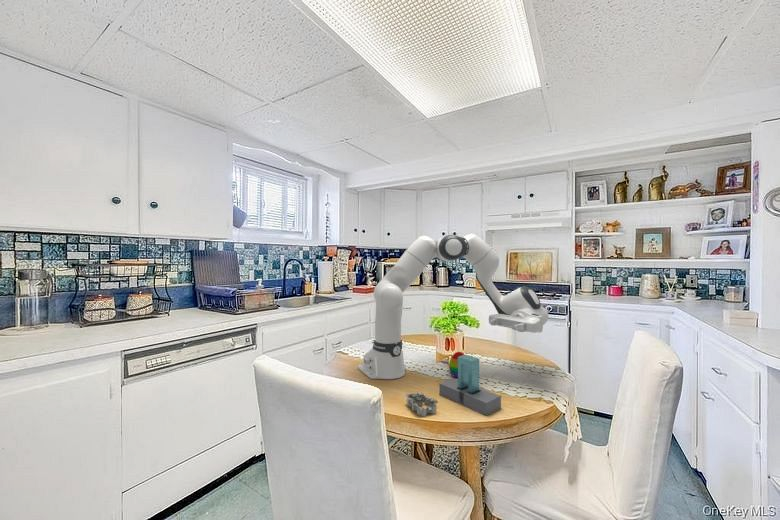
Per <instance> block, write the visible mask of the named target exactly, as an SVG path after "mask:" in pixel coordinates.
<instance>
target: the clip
mask: <svg viewBox="0 0 780 520" xmlns="http://www.w3.org/2000/svg"><path fill="white" fill-rule="evenodd" d="M457 379H458V389H460V390H464V389H466V388H468V393H469V394H472V395H473V394H475V393H478V392H479V388H480V358H479V357H474V356H471V355H468V354H464V355H462V356H459V357H458V378H457Z"/></svg>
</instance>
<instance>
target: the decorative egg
mask: <svg viewBox="0 0 780 520" xmlns="http://www.w3.org/2000/svg"><path fill="white" fill-rule="evenodd" d="M462 355H465V353H464V352H462V351H456V352H454V353H453V354H452V356H451V358H450V360H449V364H448V365H449V367H448V368H449V369H448V370H449V372H450V374H451V375H452V377H453V378H455V379H458V357H459V356H462Z"/></svg>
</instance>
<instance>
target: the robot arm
mask: <svg viewBox="0 0 780 520" xmlns="http://www.w3.org/2000/svg"><path fill="white" fill-rule="evenodd" d="M461 258H464V259H465V260H467V261H468V262H469V264H470V265H471V267H473V269H474V270H475V279H476V281H477V282H478V284H479V286H480V287H481V289H482V290H483V292H484V293H485V295H486V296H487V297H488V298H489V300H490V301H491V303H492V304H493V306H494V308H495V311H496V312H497V314H495V313H493V314H490V315H488V324H490V326H498V327H503V328H508V329H512V330H514V331H516V332H519V333H524V332H529V333H533V334H534V333H543V327H544V326H545V324H546V323H547V322H548V320H549V312H548V311H547V309H546V308H545V307H544V306H542V305H541V301H540V300H541V299H540V297H539V295H538V294H537V292H536V290H533V289H532V288H531V287H528V286H525V285H523V286H521V287H517V288H516V289H515V290H512V291H511V292H509V293H508V294H506V295H503V294H501V292H500V291H499V290H498V288H497V287H496V285H495V284H494V283H493V281H492V280H493V279H492V278H493V276H494V275H495V274H496V271H497V270H498V268H499V265H500V256H499V255H498V254H497V252H496V251H495V250H494V249H493V248H492V247H491V246H490V245H489V244H488V243H487V242H485V241H484V240H483V239H482V238H481V237H479V236H477V235H476V234H475V233H469V234H466V235H464V236H459V235H457V234H456V235H455V234H448V235H444V236H441V237H440V238H438V239H433V238H431V237H430V236H427V235H420V236H419V237H418V238H416V239H415V240H414V241H413V242H412V243H411V244H410V245H409V247H408V248H406V249H405V251H404V252H403V254H402V255H401V256H400V258H399V259H398V261H397V262H396V263H395V264H394V265H393V266H392V267H391V269H390V270H388V271H387V272H386V274H384V276H383V277H382V279H381V280H380V281H378V283H377V284H376V285H375V287H374V289H373V297H374V299H375V319H374V320H375V321H374V339H372V341H371V344H372V348H370V350H369V351H367V352H366V353H365V354H363V360H362V361H363V363H361V364H358V366H357V369H358V370H360V372H361V373H363V374H364V375H366V376H367V377H368V378H369V379H371V380H377V379H379V380H394V379H400V378H402V377H403V376H405V375H406V369H407V366H406V365H405V359H404V351H403V350H402V349H403V339H402V316H403V304H404V295H403V293H404V292H405V291H406V290H407V289H408V288H409V287H410V286H411V285H412V284H414V283H415V281H416V280H417V279H418V278H419V277H420V275H421V274H422V273H423V271H424V270H425V269H426V267H427V266H428V265H429V263H430V262H431V261H432V260H434V259H436V260H438V261H442V262H453V261H457V260H459V259H461Z"/></svg>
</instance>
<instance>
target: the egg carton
mask: <svg viewBox="0 0 780 520" xmlns="http://www.w3.org/2000/svg"><path fill="white" fill-rule="evenodd" d="M405 395H406V398H407V399H406V406H407V407H411V410H412V411H414V410H415V411H416V415H417V414H418V415H417V416H422V415H423V417H426V416H427V414H432V415H435V414H436V412H437V404H438V403H439V402H438V400H437V399H435V398H432V397H430V396H428V395H425V394H424V393H422V392H420V393H419V392H416V393H414V392H413V393H405ZM423 404H424V405H425V406H427V407H426V408H425V407H423V406H424V405H423Z"/></svg>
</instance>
